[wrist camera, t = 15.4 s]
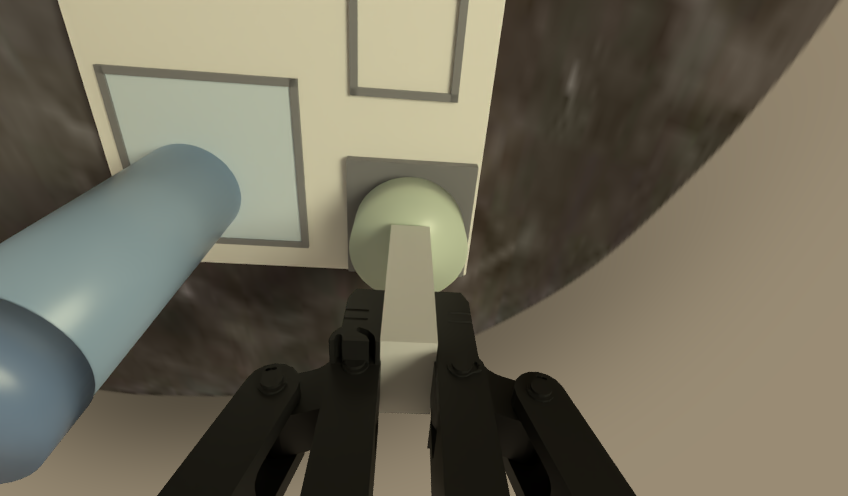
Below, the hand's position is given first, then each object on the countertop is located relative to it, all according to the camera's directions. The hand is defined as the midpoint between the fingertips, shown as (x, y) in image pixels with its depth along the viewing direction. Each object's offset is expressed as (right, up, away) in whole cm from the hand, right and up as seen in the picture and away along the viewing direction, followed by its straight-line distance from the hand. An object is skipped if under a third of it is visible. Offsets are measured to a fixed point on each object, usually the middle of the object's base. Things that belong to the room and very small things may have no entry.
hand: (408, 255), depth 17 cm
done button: (0, +1, +2) cm, 2 cm away
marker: (-10, +3, +2) cm, 10 cm away
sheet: (-5, +6, +1) cm, 8 cm away
